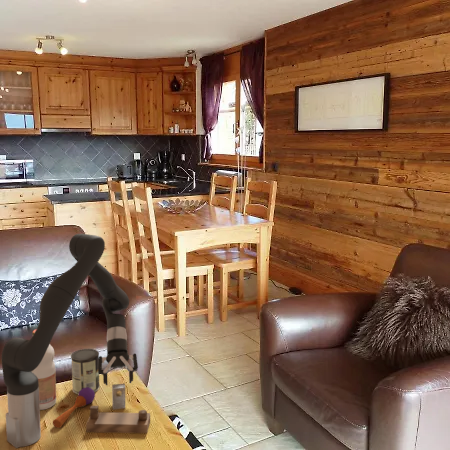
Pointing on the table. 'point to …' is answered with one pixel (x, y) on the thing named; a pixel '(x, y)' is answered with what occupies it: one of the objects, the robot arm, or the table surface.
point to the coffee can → (85, 370)
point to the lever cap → (118, 396)
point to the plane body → (117, 422)
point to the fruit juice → (46, 379)
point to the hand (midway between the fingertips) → (118, 383)
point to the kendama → (76, 405)
